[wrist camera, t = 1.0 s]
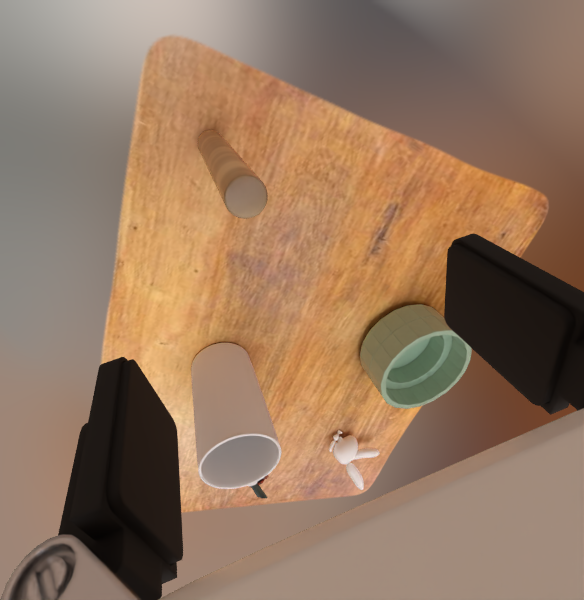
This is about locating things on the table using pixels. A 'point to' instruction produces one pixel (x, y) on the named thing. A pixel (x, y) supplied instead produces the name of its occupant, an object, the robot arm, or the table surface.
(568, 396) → the robot arm
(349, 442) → the rabbit figurine
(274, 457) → the mug
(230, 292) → the table surface
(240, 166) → the stick
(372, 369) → the bowl
